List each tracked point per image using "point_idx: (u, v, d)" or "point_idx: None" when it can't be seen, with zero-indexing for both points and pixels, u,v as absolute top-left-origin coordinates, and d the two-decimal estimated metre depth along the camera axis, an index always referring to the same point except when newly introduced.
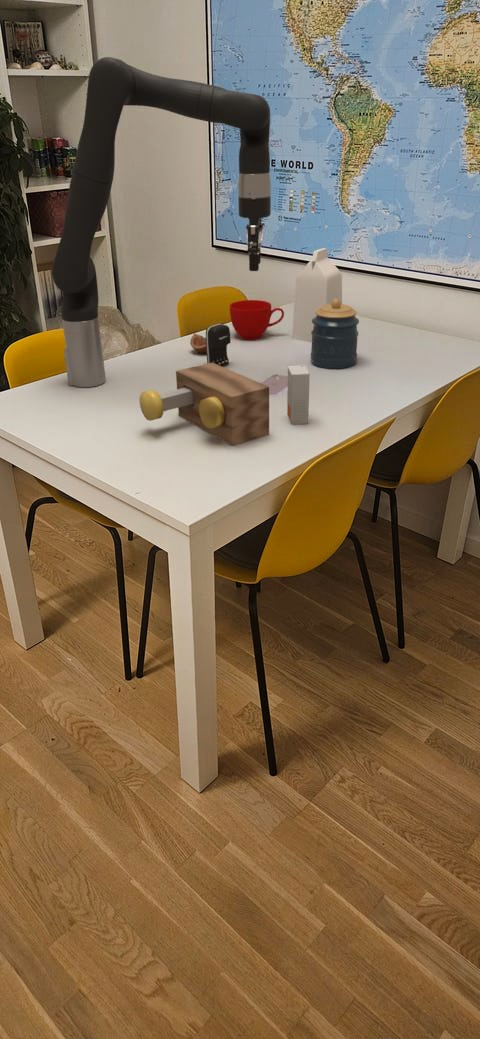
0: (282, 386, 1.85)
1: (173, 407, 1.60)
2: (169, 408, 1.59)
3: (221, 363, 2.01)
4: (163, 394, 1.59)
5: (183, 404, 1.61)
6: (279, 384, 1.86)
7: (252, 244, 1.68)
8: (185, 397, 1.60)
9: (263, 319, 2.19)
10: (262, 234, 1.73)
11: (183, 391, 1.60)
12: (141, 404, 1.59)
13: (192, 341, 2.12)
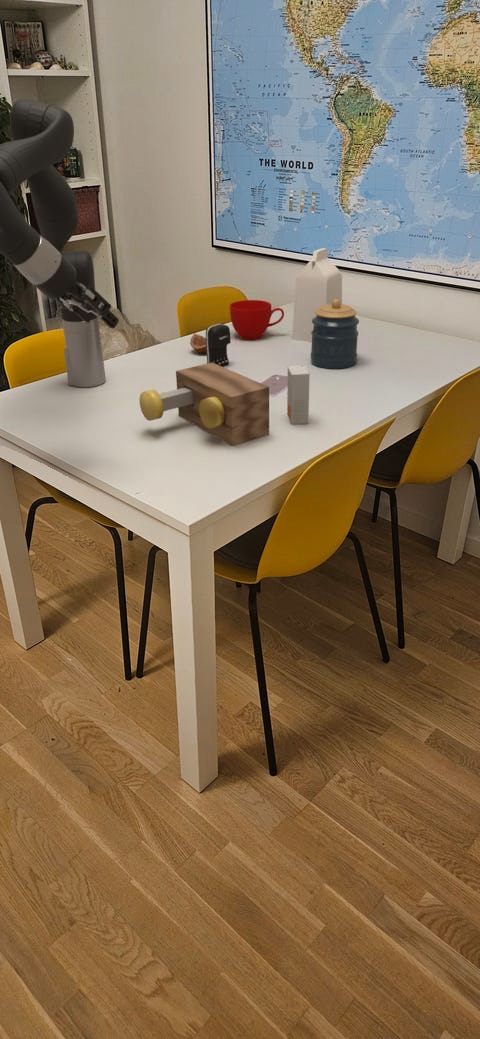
0: (282, 386, 1.85)
1: (173, 407, 1.60)
2: (169, 408, 1.59)
3: (221, 363, 2.01)
4: (163, 394, 1.59)
5: (183, 404, 1.61)
6: (278, 384, 1.86)
7: None
8: (185, 397, 1.60)
9: (263, 319, 2.19)
10: (81, 307, 1.34)
11: (183, 391, 1.60)
12: (141, 404, 1.59)
13: (192, 341, 2.12)
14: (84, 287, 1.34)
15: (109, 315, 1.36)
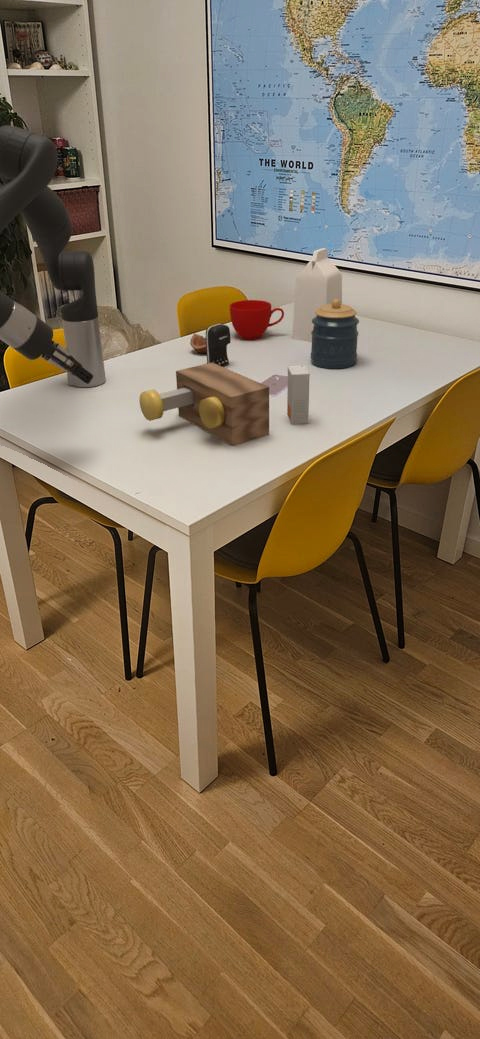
0: (281, 386, 1.85)
1: (173, 407, 1.60)
2: (169, 408, 1.59)
3: (221, 363, 2.01)
4: (163, 394, 1.59)
5: (183, 404, 1.61)
6: (278, 384, 1.86)
7: None
8: (185, 397, 1.60)
9: (263, 319, 2.19)
10: (58, 366, 1.40)
11: (183, 391, 1.60)
12: (141, 404, 1.59)
13: (192, 341, 2.12)
14: (63, 349, 1.39)
15: (82, 372, 1.44)
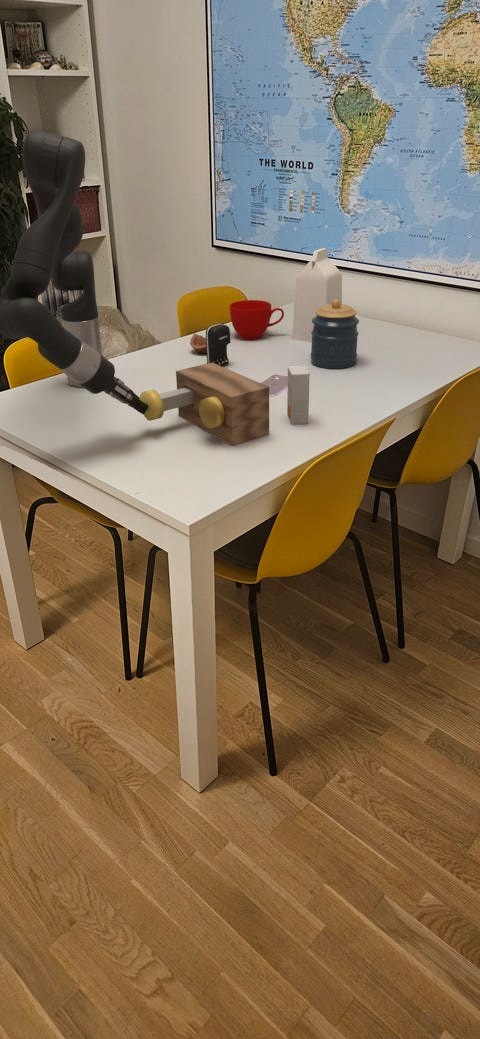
0: (281, 386, 1.85)
1: (173, 407, 1.60)
2: (169, 408, 1.59)
3: (221, 363, 2.01)
4: (163, 394, 1.59)
5: (183, 404, 1.61)
6: (278, 384, 1.86)
7: None
8: (185, 397, 1.60)
9: (263, 319, 2.19)
10: (117, 399, 1.51)
11: (183, 391, 1.60)
12: None
13: (192, 341, 2.12)
14: (123, 383, 1.49)
15: (138, 404, 1.54)
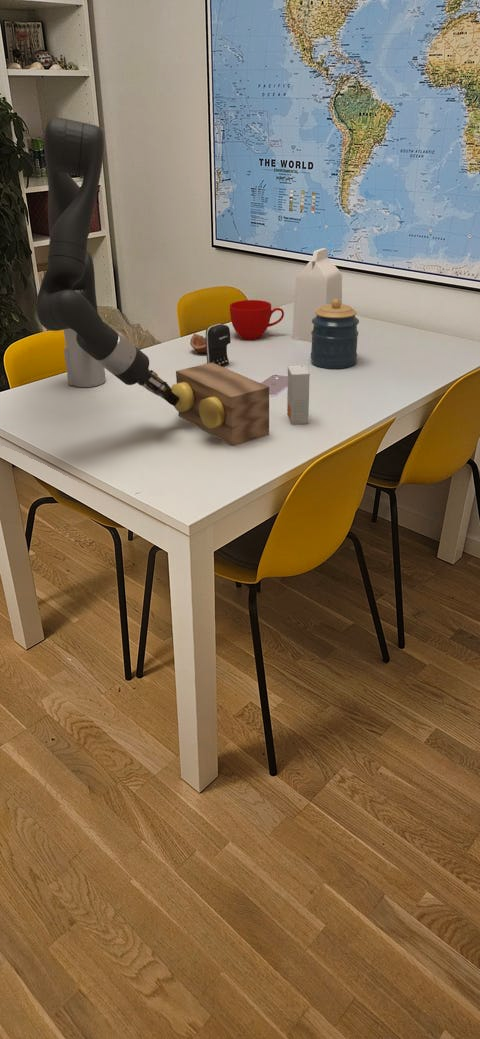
0: (281, 386, 1.85)
1: None
2: None
3: (221, 363, 2.01)
4: None
5: None
6: (278, 384, 1.86)
7: None
8: None
9: (263, 319, 2.19)
10: (150, 391, 1.55)
11: None
12: None
13: (192, 341, 2.12)
14: (156, 375, 1.53)
15: (170, 396, 1.58)
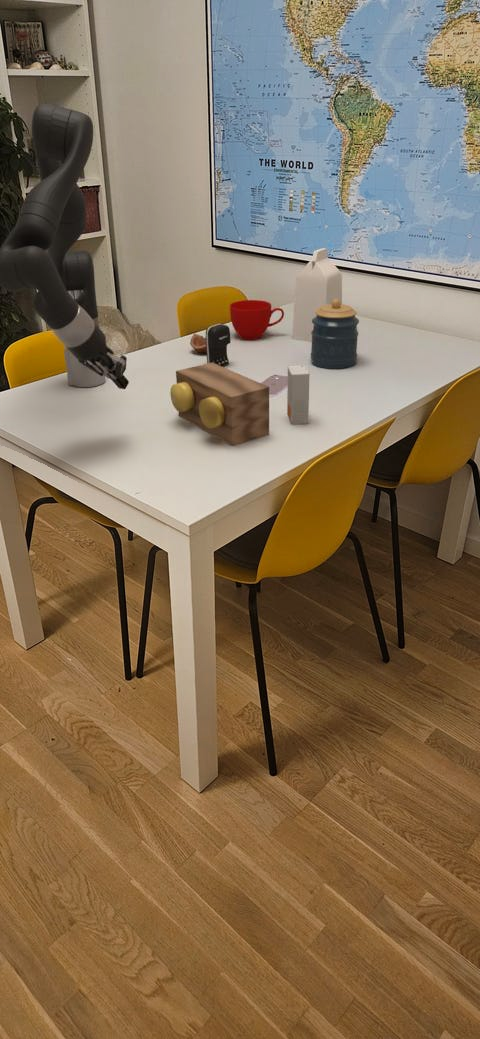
0: (281, 386, 1.85)
1: None
2: None
3: (221, 363, 2.01)
4: None
5: None
6: (278, 384, 1.86)
7: None
8: None
9: (263, 319, 2.19)
10: (104, 369, 1.47)
11: None
12: (172, 396, 1.63)
13: (192, 341, 2.12)
14: None
15: (122, 377, 1.51)
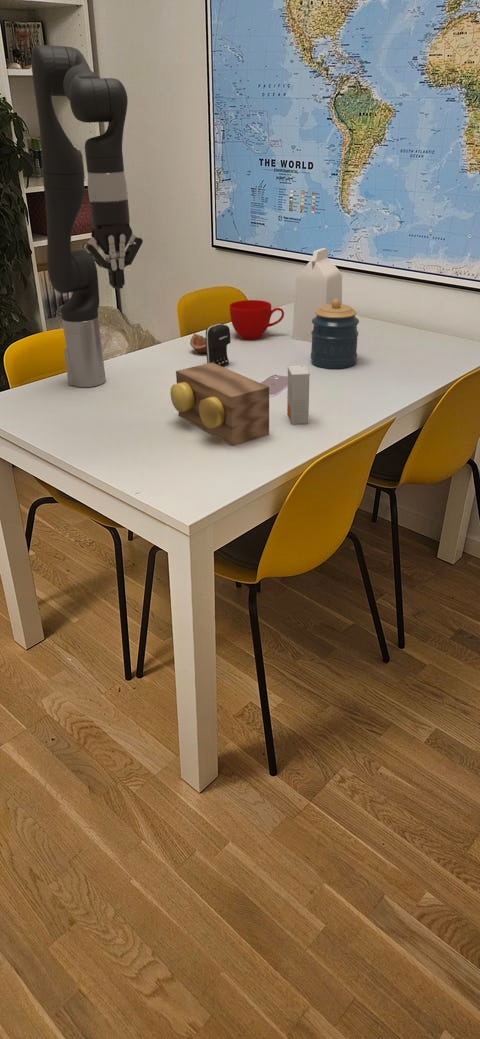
0: (281, 386, 1.85)
1: None
2: None
3: (221, 363, 2.01)
4: None
5: None
6: (277, 384, 1.86)
7: None
8: None
9: (263, 319, 2.19)
10: (122, 249, 1.44)
11: None
12: (172, 396, 1.63)
13: (192, 341, 2.12)
14: None
15: None
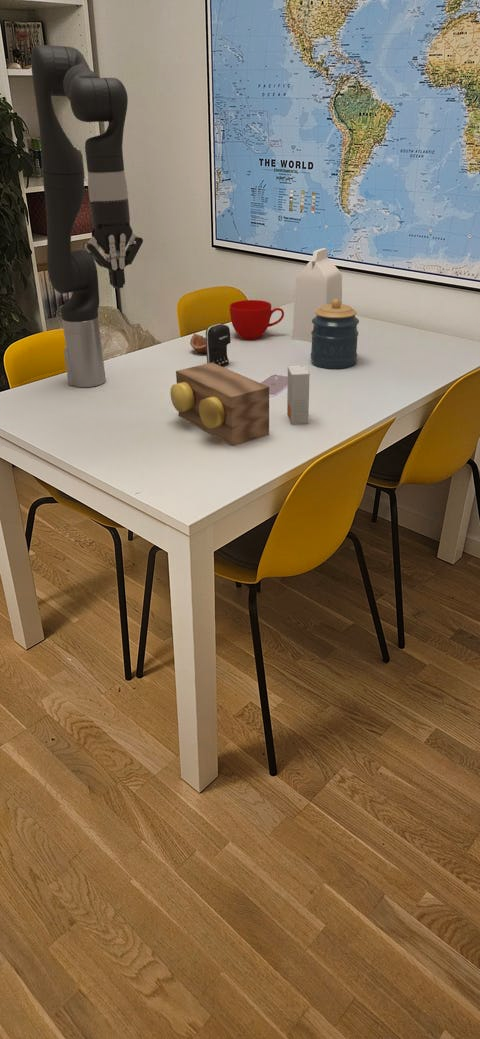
0: (281, 386, 1.85)
1: None
2: None
3: (221, 363, 2.01)
4: None
5: None
6: (277, 384, 1.86)
7: None
8: None
9: (263, 319, 2.19)
10: (122, 249, 1.44)
11: None
12: (172, 396, 1.63)
13: (192, 341, 2.12)
14: None
15: None
